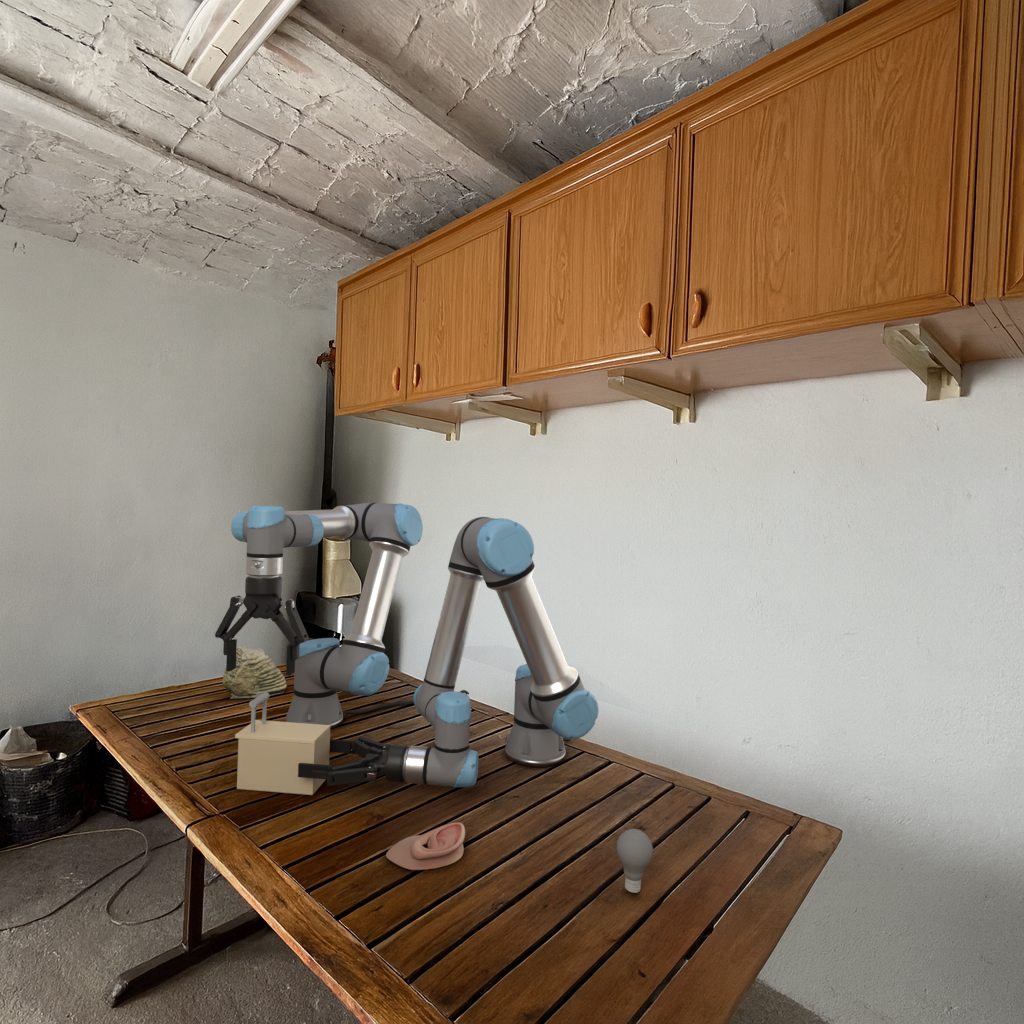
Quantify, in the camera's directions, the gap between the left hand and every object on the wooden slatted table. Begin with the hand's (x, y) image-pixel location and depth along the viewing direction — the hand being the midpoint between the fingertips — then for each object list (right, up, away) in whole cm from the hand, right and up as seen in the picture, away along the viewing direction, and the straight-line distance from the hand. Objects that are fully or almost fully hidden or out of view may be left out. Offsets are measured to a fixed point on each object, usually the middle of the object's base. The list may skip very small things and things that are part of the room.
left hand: (260, 672), depth 140 cm
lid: (+5, -13, 0) cm, 14 cm away
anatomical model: (+40, -26, -26) cm, 54 cm away
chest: (+5, -24, 0) cm, 25 cm away
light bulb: (+76, -28, -34) cm, 88 cm away
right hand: (+11, -18, -1) cm, 22 cm away
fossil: (-25, -22, +58) cm, 67 cm away
